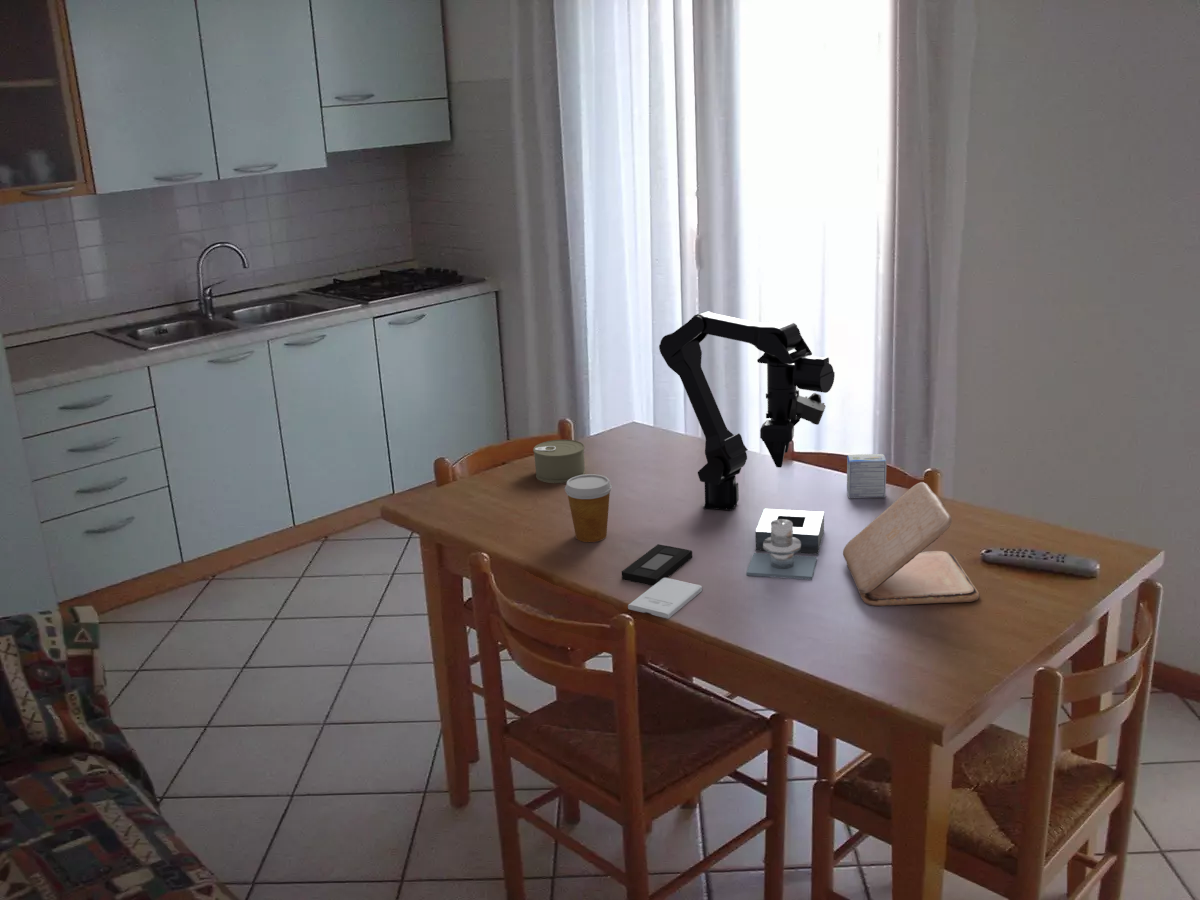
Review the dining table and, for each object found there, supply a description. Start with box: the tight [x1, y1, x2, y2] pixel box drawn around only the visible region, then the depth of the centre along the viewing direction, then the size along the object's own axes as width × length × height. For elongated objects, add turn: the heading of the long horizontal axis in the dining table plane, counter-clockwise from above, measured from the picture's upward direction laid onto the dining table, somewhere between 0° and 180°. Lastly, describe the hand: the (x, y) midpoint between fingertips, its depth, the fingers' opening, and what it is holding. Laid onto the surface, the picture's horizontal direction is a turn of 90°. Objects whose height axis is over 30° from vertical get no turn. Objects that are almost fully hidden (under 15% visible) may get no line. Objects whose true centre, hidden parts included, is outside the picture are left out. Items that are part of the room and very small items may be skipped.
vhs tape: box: [621, 544, 693, 587], centre depth 218 cm, size 8×14×2 cm, turn 148°
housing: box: [755, 508, 825, 555], centre depth 226 cm, size 12×12×4 cm
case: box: [842, 481, 980, 607], centre depth 204 cm, size 20×21×16 cm
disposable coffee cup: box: [564, 473, 613, 543], centre depth 232 cm, size 10×10×12 cm
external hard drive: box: [627, 577, 703, 619], centre depth 205 cm, size 2×8×12 cm
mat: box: [746, 552, 818, 581], centre depth 215 cm, size 12×9×1 cm
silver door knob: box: [763, 519, 801, 569], centre depth 214 cm, size 7×7×8 cm
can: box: [532, 439, 586, 484], centre depth 270 cm, size 12×12×7 cm
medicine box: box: [846, 453, 888, 499], centre depth 246 cm, size 8×4×9 cm, turn 84°
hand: (782, 459), depth 233 cm, fingers open, 9 cm apart
